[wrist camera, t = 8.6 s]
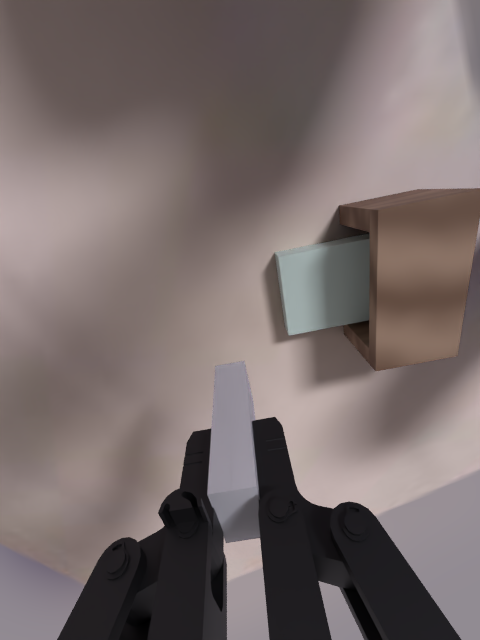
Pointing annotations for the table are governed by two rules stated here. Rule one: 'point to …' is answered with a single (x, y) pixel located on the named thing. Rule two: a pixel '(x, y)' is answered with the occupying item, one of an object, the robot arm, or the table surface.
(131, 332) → the table surface
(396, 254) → the tan notched block
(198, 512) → the robot arm
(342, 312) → the board
